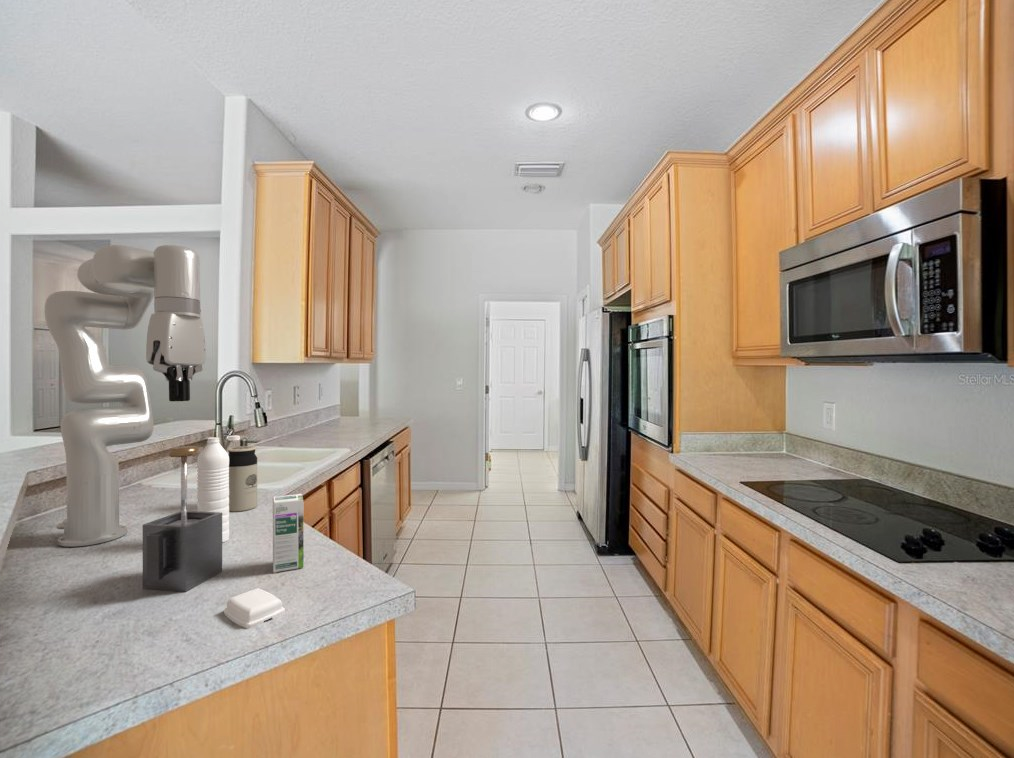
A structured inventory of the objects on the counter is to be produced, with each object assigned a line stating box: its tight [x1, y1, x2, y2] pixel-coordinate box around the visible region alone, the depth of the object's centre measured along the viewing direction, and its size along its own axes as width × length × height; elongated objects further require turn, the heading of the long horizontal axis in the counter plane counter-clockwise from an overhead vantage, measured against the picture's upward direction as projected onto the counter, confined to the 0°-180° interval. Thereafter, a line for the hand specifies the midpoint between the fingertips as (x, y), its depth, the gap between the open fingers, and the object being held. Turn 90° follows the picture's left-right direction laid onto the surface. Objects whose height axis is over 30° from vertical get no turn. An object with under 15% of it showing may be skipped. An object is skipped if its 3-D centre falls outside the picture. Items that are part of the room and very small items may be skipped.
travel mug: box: [227, 445, 258, 513], centre depth 138 cm, size 8×8×18 cm
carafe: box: [142, 510, 223, 593], centre depth 89 cm, size 9×11×12 cm
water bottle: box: [196, 434, 241, 543], centre depth 111 cm, size 9×6×25 cm
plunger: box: [167, 445, 199, 526], centre depth 90 cm, size 6×6×16 cm
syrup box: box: [272, 493, 305, 574], centre depth 97 cm, size 6×6×14 cm
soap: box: [223, 587, 286, 629], centre depth 78 cm, size 9×7×3 cm
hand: (179, 400), depth 93 cm, fingers closed
